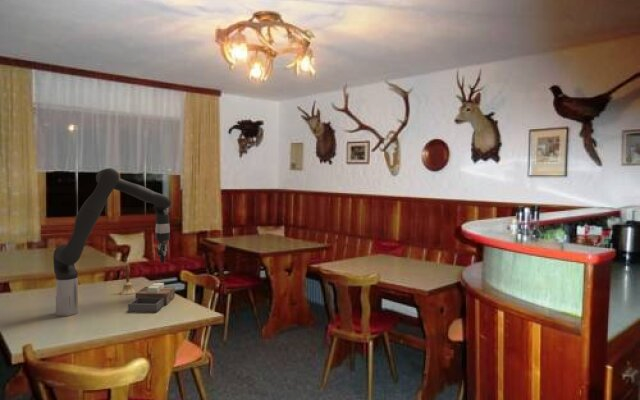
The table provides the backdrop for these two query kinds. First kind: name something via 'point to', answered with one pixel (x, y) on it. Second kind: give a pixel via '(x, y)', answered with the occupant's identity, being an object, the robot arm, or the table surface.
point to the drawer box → (158, 294)
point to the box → (146, 305)
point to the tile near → (153, 289)
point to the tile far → (159, 285)
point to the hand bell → (127, 284)
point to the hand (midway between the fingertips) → (162, 262)
